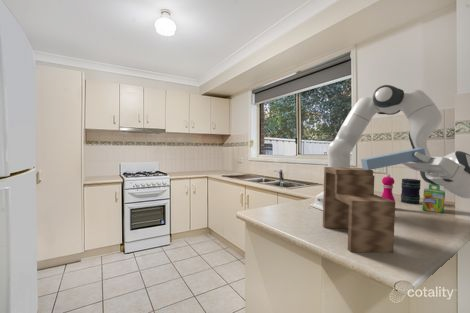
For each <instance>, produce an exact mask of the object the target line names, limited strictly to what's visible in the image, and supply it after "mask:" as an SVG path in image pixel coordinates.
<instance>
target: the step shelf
mask: <svg viewBox="0 0 470 313" xmlns="http://www.w3.org/2000/svg"><path fill="white" fill-rule="evenodd" d="M323 170H324V172H323V175H324V176H323V186H324V187H323V191H324V198H323V210H322V227H323V229H348V230H347V231H348V232H347V233H348V234H347V250H348V251H349V252H350V253H383V254H384V253H386V254H388V253H390V254H393V253H394V245H395V244H394V243H395V242H394V241H395V240H394V239H395V224H396V223H395V220H396V219H395V218H396V201H392V200H389V199H386V198H383V197H381V196H380V195H376V194H375V177H376V176H375V175H374V169H372V170H364V169H363V168H361V167H352V166H350V167H328V166H324V168H323Z"/></svg>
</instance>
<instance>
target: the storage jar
mask: <svg viewBox="0 0 470 313" xmlns="http://www.w3.org/2000/svg"><path fill="white" fill-rule="evenodd" d="M420 193H421V180H420V179H416V178H401V193H400V202H401V203H403V204H408V205H420V201H421V196H420V195H421V194H420Z"/></svg>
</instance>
